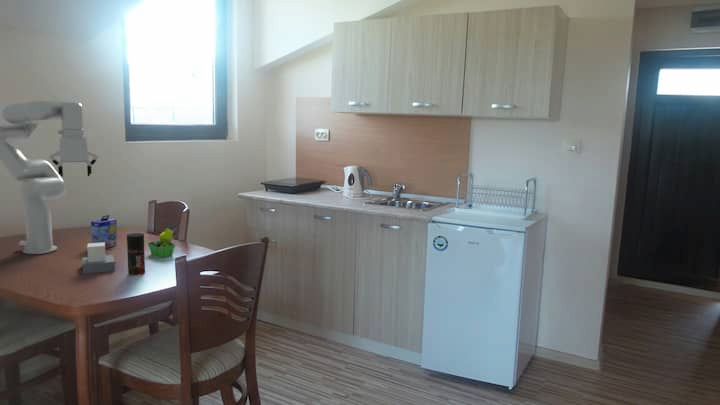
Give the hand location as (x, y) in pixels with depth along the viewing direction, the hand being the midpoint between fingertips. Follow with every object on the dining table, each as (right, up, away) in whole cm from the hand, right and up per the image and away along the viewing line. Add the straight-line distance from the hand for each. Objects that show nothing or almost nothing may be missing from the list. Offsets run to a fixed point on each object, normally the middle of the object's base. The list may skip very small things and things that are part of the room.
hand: (75, 176), depth 214 cm
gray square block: (+13, -37, -8) cm, 40 cm away
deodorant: (+30, -38, -12) cm, 50 cm away
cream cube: (+13, -33, -9) cm, 37 cm away
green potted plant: (+30, -34, +14) cm, 47 cm away
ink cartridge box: (0, -31, +25) cm, 40 cm away
